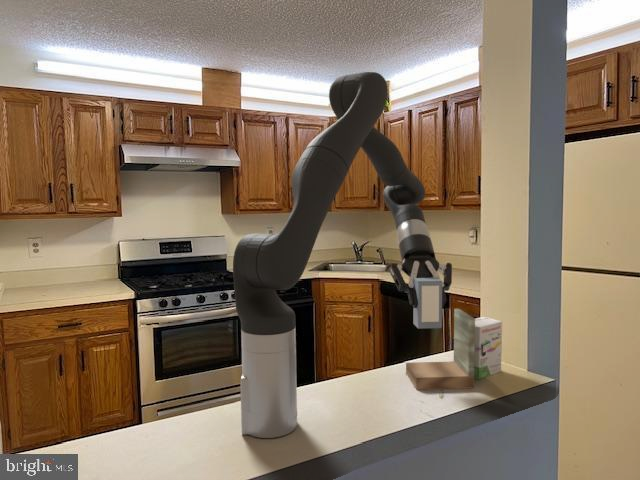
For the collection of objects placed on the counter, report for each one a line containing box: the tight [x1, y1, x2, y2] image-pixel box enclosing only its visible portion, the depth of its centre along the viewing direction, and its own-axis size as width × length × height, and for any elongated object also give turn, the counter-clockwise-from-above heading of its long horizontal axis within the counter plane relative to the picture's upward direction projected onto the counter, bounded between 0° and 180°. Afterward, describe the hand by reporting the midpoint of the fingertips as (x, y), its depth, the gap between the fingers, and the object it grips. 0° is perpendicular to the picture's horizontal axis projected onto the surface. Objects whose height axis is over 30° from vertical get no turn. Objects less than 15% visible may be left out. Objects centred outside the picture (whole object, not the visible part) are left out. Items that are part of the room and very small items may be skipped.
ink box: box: [474, 316, 503, 380], centre depth 104 cm, size 8×5×12 cm, turn 126°
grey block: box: [412, 278, 443, 330], centre depth 98 cm, size 5×4×10 cm
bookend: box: [405, 308, 476, 391], centre depth 99 cm, size 12×9×14 cm
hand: (429, 305), depth 97 cm, fingers closed on grey block, 5 cm apart
